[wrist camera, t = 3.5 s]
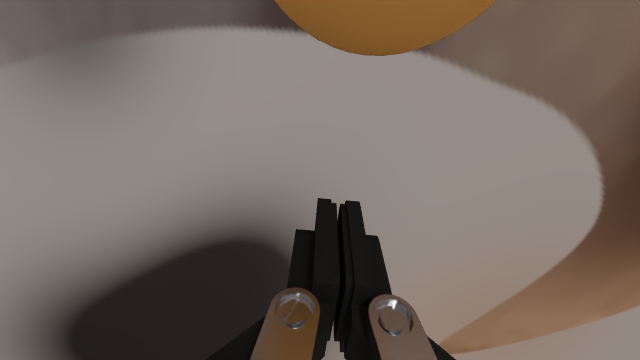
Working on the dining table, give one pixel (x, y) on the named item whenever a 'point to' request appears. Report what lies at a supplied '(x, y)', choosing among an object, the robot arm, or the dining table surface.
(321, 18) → the ball
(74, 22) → the dining table surface
